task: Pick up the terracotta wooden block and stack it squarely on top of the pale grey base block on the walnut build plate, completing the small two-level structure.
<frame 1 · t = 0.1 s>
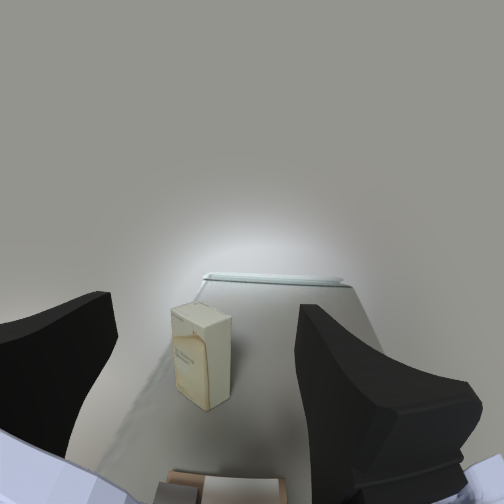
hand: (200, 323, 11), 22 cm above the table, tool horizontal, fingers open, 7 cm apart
skincare box: (204, 395, 36), on the table
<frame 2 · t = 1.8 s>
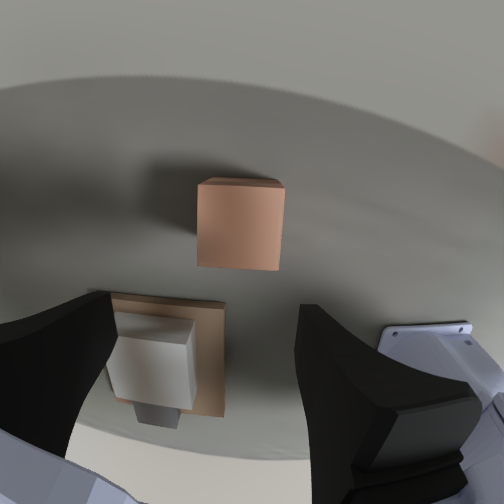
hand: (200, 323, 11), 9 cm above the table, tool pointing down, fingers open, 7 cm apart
build plate: (163, 357, 23), on the table
terracotta block: (243, 209, 19), on the table
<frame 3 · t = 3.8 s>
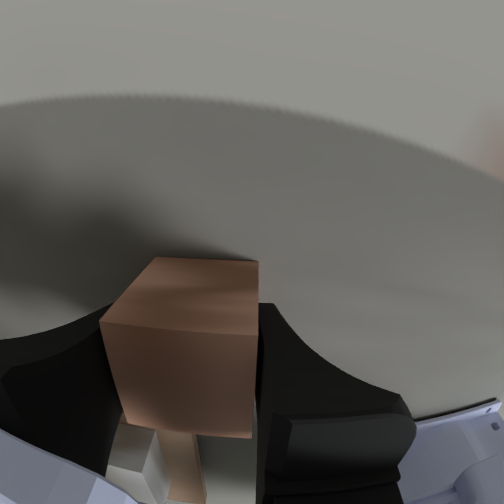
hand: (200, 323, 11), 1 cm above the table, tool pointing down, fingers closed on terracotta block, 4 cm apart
build plate: (128, 450, 16), on the table
terracotta block: (206, 305, 12), on the table, touching gripper
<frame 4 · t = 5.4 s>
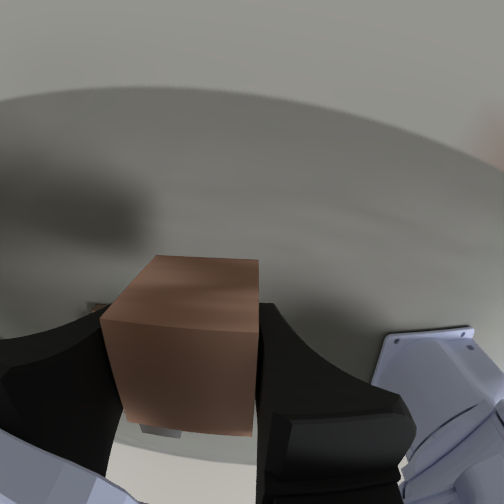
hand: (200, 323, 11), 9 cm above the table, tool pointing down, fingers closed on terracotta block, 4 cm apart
build plate: (165, 368, 23), on the table
terracotta block: (206, 304, 12), point 8 cm above the table, touching gripper
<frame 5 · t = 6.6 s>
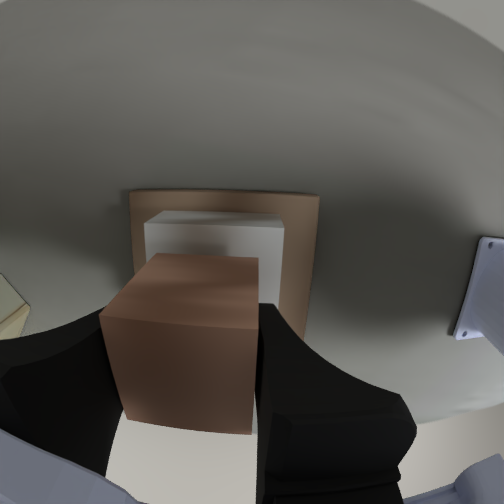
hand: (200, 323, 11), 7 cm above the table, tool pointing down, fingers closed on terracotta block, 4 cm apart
build plate: (221, 285, 18), on the table
skincare box: (8, 308, 19), on the table
terracotta block: (206, 301, 12), point 5 cm above the table, touching gripper
when the fingers open (7 cm above the table, at t = 7.4 s): terracotta block drops 1 cm, resting on build plate.
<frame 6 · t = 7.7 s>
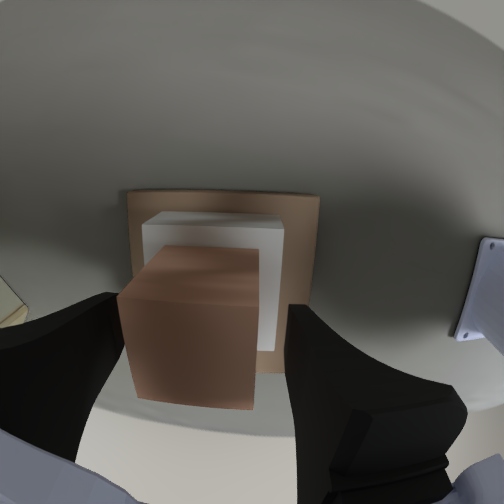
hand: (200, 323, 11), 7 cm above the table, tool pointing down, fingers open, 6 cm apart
build plate: (220, 286, 18), on the table
skincare box: (6, 309, 19), on the table
terracotta block: (211, 290, 13), point 4 cm above the table, touching build plate
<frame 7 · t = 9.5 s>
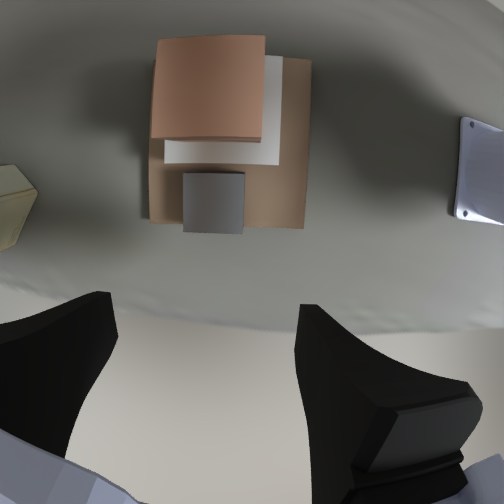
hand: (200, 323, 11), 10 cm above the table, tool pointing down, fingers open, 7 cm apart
build plate: (228, 138, 19), on the table
skincare box: (15, 202, 20), on the table
terracotta block: (222, 104, 14), point 4 cm above the table, touching build plate
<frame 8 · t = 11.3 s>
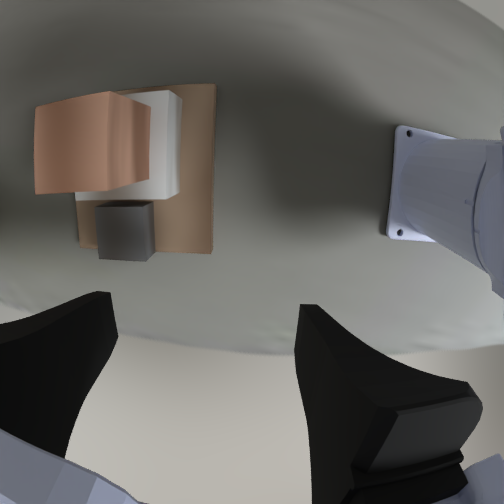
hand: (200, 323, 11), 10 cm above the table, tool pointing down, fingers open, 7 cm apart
build plate: (141, 168, 19), on the table
terracotta block: (116, 144, 15), point 4 cm above the table, touching build plate
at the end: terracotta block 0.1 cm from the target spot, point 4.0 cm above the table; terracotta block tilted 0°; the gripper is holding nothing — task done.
